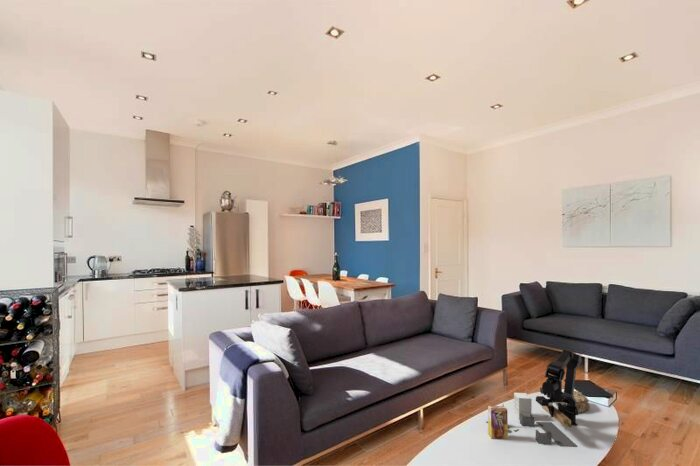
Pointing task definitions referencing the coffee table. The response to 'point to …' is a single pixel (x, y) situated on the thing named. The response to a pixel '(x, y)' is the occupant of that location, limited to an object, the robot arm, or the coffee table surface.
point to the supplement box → (522, 405)
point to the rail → (559, 417)
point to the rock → (580, 401)
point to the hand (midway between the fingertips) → (555, 417)
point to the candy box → (497, 422)
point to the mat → (557, 434)
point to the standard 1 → (527, 420)
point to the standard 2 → (544, 437)
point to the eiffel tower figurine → (510, 430)
